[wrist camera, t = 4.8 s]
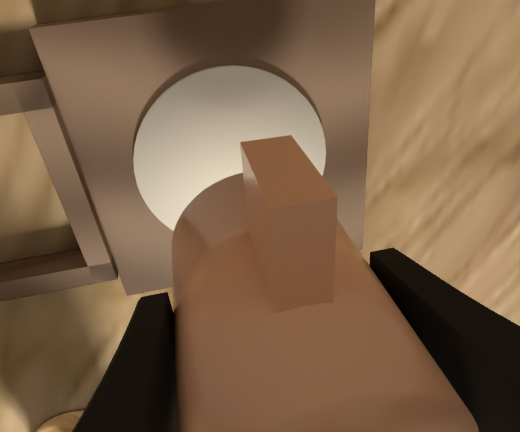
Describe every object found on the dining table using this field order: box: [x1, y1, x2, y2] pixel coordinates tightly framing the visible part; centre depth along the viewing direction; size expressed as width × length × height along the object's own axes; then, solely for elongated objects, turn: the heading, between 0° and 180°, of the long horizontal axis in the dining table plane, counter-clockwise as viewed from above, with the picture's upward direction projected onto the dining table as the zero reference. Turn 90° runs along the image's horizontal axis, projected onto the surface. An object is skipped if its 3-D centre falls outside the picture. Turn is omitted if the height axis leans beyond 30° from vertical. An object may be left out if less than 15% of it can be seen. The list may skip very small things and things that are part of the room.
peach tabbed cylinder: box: [171, 135, 479, 432], centre depth 9 cm, size 5×7×7 cm
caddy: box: [0, 0, 375, 302], centre depth 17 cm, size 12×21×2 cm, turn 95°
